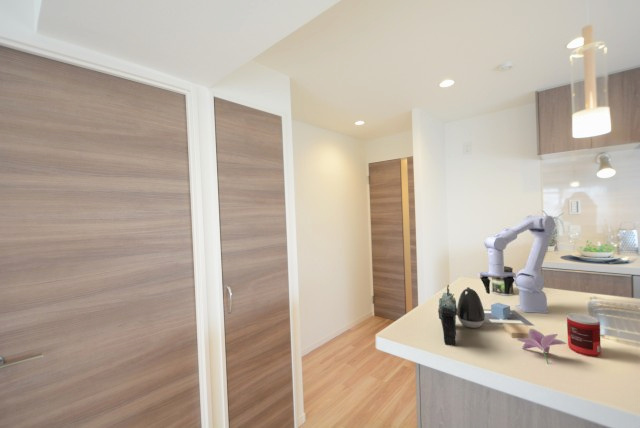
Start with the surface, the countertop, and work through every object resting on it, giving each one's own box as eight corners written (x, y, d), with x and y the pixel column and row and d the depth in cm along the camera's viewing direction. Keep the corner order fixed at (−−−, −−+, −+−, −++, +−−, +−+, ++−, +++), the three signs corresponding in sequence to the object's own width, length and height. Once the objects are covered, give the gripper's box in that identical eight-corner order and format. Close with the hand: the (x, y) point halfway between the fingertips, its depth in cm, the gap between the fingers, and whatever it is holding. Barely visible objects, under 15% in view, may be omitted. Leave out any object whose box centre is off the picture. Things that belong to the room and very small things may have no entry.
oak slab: (526, 331, 102) (526, 324, 102) (537, 341, 94) (537, 334, 94) (502, 329, 104) (502, 323, 104) (511, 339, 97) (511, 332, 96)
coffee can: (517, 295, 140) (516, 269, 140) (496, 295, 141) (495, 269, 141) (507, 289, 150) (506, 265, 150) (487, 289, 152) (486, 265, 151)
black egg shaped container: (483, 321, 111) (481, 286, 111) (487, 332, 101) (485, 293, 101) (456, 318, 115) (454, 284, 115) (457, 328, 106) (456, 291, 106)
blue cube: (510, 317, 113) (509, 306, 113) (503, 320, 111) (502, 308, 111) (498, 313, 118) (497, 302, 118) (491, 315, 116) (491, 304, 116)
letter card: (514, 310, 121) (514, 310, 121) (534, 325, 105) (534, 325, 105) (471, 309, 125) (471, 308, 125) (484, 323, 109) (484, 323, 109)
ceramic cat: (459, 349, 91) (456, 292, 90) (438, 345, 93) (436, 290, 93) (456, 325, 109) (454, 277, 108) (439, 323, 111) (437, 276, 111)
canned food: (590, 346, 89) (589, 313, 89) (607, 358, 81) (606, 323, 81) (562, 343, 91) (561, 312, 91) (576, 355, 84) (575, 321, 84)
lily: (575, 365, 81) (562, 331, 85) (569, 364, 74) (555, 327, 78) (529, 363, 89) (519, 332, 93) (519, 362, 82) (509, 329, 86)
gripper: (509, 261, 120) (510, 290, 120) (475, 261, 123) (476, 290, 123) (517, 264, 113) (519, 295, 113) (481, 264, 116) (482, 295, 116)
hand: (497, 293), depth 118 cm, fingers open, 7 cm apart
